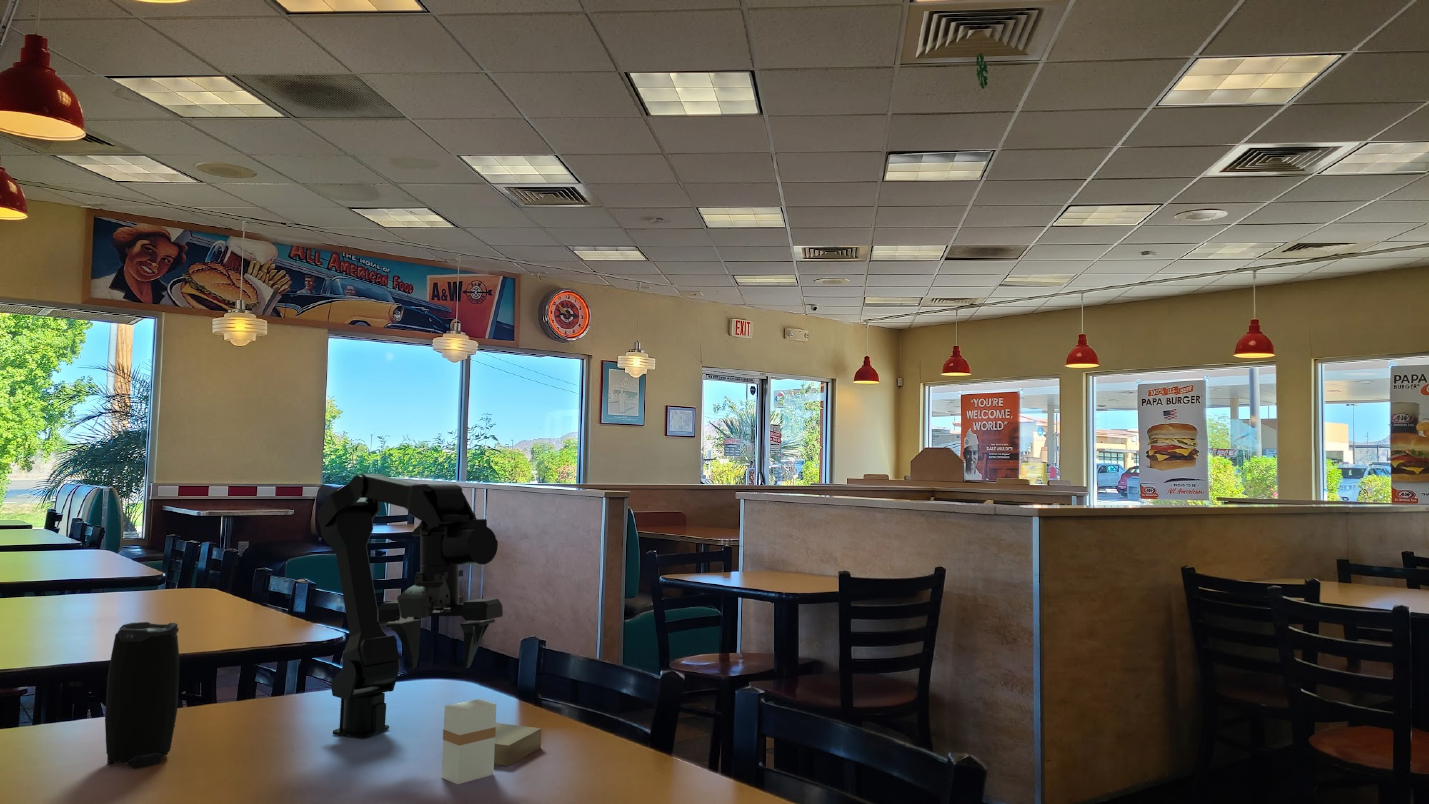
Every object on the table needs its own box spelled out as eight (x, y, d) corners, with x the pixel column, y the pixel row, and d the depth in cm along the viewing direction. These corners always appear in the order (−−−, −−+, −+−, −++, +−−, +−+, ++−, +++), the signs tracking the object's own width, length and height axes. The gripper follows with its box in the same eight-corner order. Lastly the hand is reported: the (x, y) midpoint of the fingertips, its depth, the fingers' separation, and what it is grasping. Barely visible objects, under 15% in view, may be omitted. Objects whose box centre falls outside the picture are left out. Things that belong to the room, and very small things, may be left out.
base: (449, 757, 143) (450, 737, 143) (485, 740, 152) (486, 721, 153) (507, 766, 140) (508, 745, 140) (540, 747, 149) (541, 728, 149)
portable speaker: (186, 752, 142) (194, 621, 143) (145, 772, 133) (155, 632, 134) (131, 750, 142) (140, 619, 144) (86, 770, 133) (97, 629, 134)
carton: (440, 777, 134) (444, 705, 135) (477, 768, 139) (480, 698, 139) (457, 784, 131) (460, 711, 132) (493, 774, 136) (496, 703, 137)
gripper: (355, 569, 141) (354, 676, 139) (467, 566, 137) (468, 677, 135) (398, 565, 152) (398, 664, 150) (503, 562, 147) (504, 664, 145)
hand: (440, 667), depth 145 cm, fingers open, 9 cm apart
